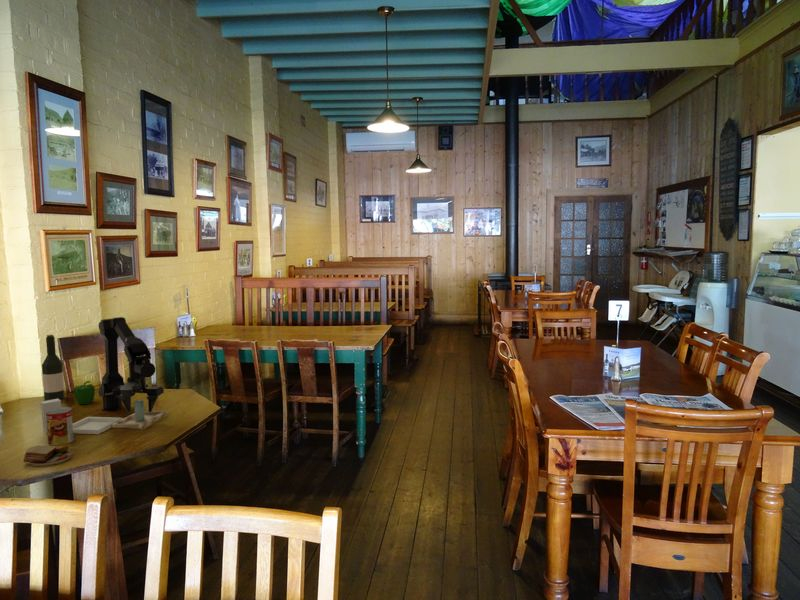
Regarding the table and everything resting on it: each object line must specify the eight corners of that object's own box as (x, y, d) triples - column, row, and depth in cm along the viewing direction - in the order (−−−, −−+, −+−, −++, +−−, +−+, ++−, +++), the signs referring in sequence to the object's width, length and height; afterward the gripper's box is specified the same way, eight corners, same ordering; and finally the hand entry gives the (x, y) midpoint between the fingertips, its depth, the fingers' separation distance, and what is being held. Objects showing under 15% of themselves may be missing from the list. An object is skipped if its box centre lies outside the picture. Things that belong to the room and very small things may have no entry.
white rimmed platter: (61, 434, 214) (61, 428, 214) (88, 421, 229) (88, 416, 229) (98, 435, 212) (98, 430, 212) (122, 422, 227) (122, 417, 227)
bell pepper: (72, 406, 251) (70, 384, 250) (77, 401, 258) (76, 379, 257) (92, 404, 253) (91, 382, 251) (98, 400, 260) (96, 378, 259)
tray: (141, 429, 218) (140, 425, 218) (112, 428, 219) (111, 424, 219) (166, 415, 236) (166, 411, 235) (139, 414, 237) (139, 410, 237)
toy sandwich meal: (58, 468, 182) (57, 453, 182) (16, 468, 182) (15, 454, 182) (80, 453, 194) (79, 440, 194) (41, 453, 195) (40, 440, 194)
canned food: (50, 440, 207) (47, 408, 206) (75, 437, 210) (72, 406, 209) (46, 447, 200) (44, 414, 198) (72, 444, 203) (69, 411, 201)
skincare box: (60, 428, 221) (58, 398, 220) (63, 430, 218) (61, 400, 217) (42, 432, 217) (40, 401, 215) (45, 434, 214) (43, 403, 212)
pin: (133, 421, 226) (132, 402, 225) (138, 419, 229) (137, 399, 228) (141, 421, 225) (140, 402, 225) (146, 419, 229) (145, 399, 228)
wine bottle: (58, 401, 259) (53, 336, 256) (40, 401, 259) (35, 336, 256) (69, 396, 267) (64, 333, 264) (51, 396, 267) (46, 333, 264)
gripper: (102, 377, 219) (105, 417, 220) (147, 378, 216) (149, 418, 218) (120, 371, 230) (122, 408, 231) (163, 372, 227) (165, 410, 229)
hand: (139, 411), depth 227 cm, fingers open, 9 cm apart
